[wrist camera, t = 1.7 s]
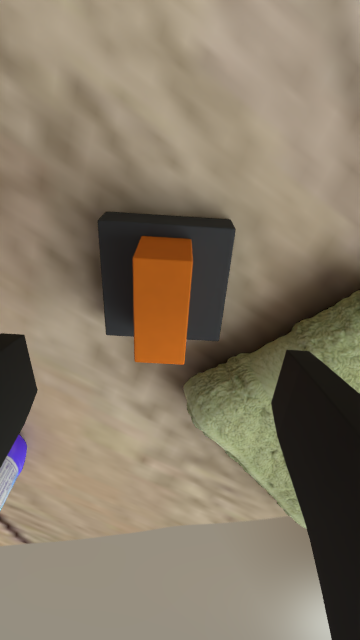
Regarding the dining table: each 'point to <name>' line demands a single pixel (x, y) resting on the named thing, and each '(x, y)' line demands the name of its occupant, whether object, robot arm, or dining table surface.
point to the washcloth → (271, 395)
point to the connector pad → (202, 274)
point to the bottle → (11, 468)
